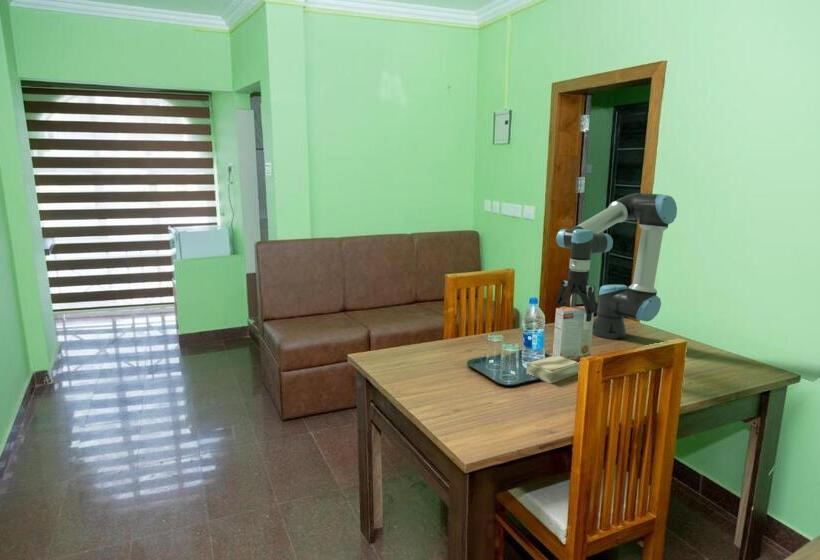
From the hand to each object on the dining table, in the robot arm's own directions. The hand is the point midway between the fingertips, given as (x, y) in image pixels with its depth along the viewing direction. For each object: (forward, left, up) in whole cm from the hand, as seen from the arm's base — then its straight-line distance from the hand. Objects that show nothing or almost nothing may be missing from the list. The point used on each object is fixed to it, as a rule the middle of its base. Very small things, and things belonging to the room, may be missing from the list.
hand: (573, 325), depth 213 cm
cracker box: (0, 0, -14) cm, 14 cm away
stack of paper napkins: (+6, -19, -14) cm, 24 cm away
